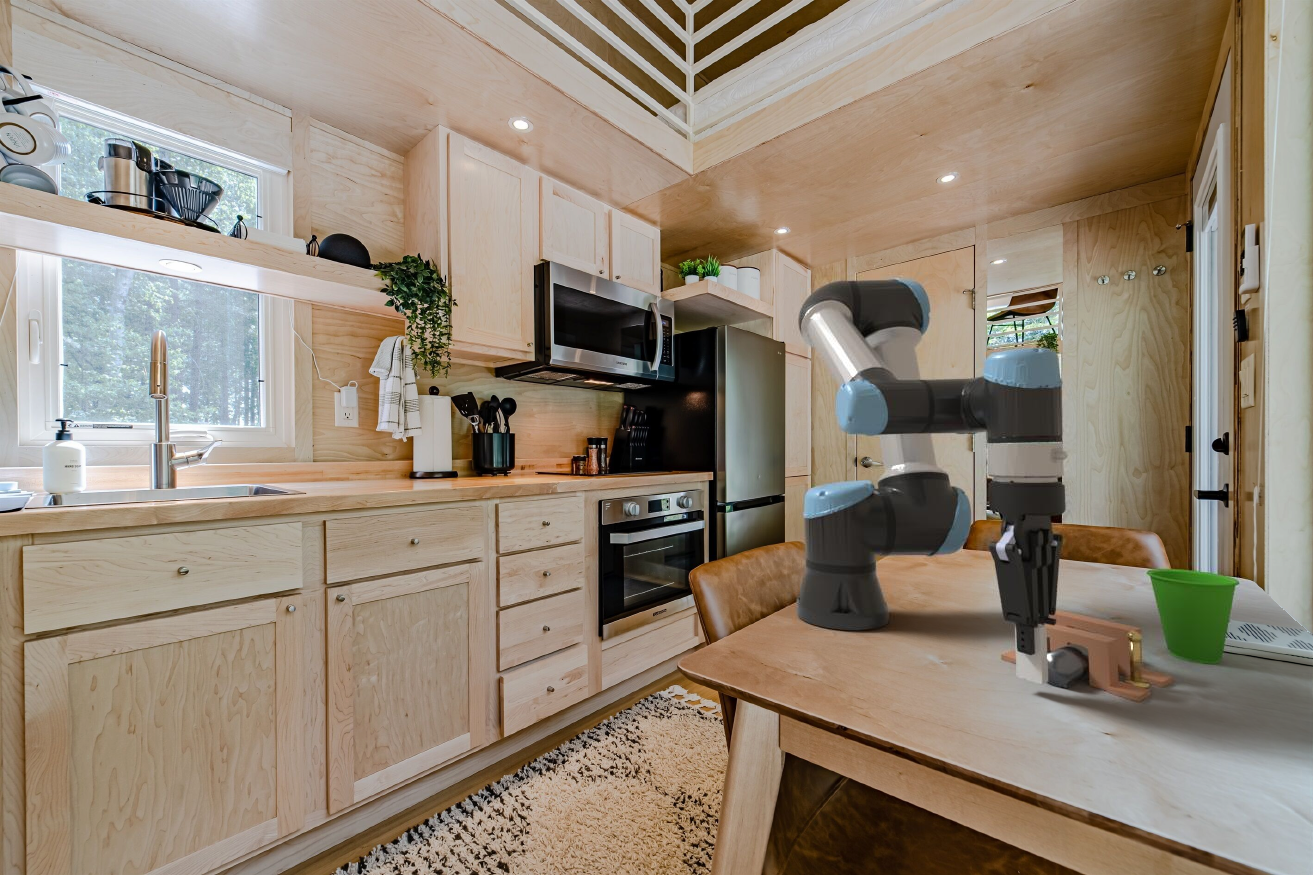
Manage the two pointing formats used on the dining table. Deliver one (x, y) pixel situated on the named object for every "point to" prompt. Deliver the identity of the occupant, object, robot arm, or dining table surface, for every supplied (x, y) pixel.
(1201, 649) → the cup
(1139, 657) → the pointer post
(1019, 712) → the dining table surface
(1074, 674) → the tube
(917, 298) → the robot arm
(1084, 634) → the collar
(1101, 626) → the collar
